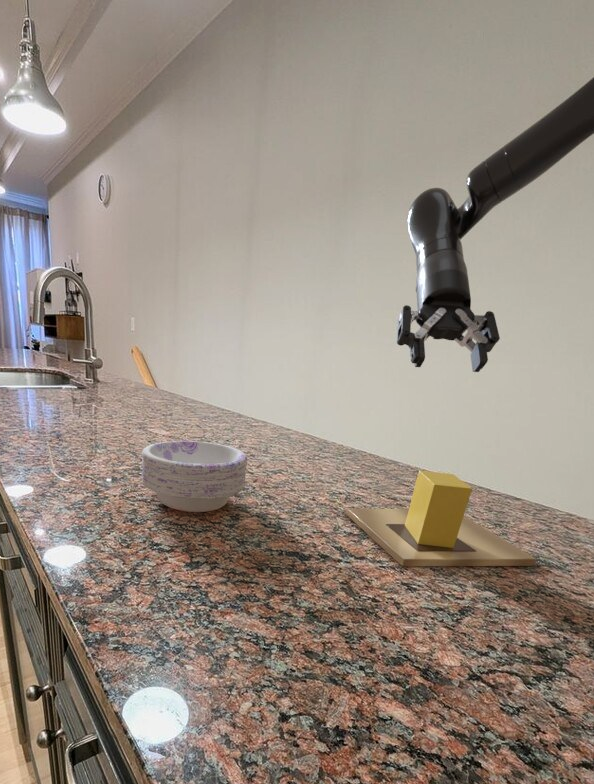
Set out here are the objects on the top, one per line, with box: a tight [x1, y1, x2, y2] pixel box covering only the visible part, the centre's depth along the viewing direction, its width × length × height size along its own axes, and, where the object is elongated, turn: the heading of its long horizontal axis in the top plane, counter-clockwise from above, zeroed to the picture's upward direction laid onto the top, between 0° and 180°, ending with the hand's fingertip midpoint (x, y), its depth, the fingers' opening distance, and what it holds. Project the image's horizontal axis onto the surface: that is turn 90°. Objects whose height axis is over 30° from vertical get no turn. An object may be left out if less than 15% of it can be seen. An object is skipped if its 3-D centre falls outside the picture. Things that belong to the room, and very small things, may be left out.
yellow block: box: [405, 470, 473, 548], centre depth 58 cm, size 4×6×8 cm
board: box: [345, 507, 538, 567], centre depth 61 cm, size 18×16×1 cm
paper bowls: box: [141, 440, 248, 513], centre depth 66 cm, size 15×15×8 cm
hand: (449, 365), depth 67 cm, fingers open, 8 cm apart
